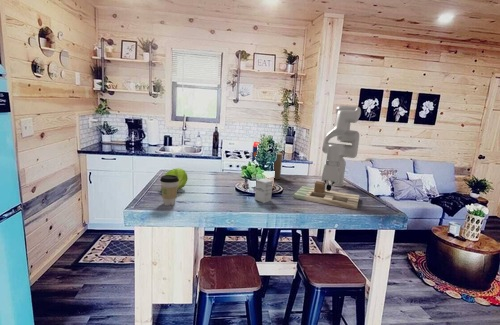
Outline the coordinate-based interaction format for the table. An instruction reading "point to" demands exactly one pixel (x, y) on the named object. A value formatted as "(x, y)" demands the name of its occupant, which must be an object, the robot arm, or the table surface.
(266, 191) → the supplement box
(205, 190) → the table surface
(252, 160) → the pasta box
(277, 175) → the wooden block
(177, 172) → the lettuce
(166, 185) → the coffee cup
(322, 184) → the walnut cube
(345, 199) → the board
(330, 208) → the table surface
